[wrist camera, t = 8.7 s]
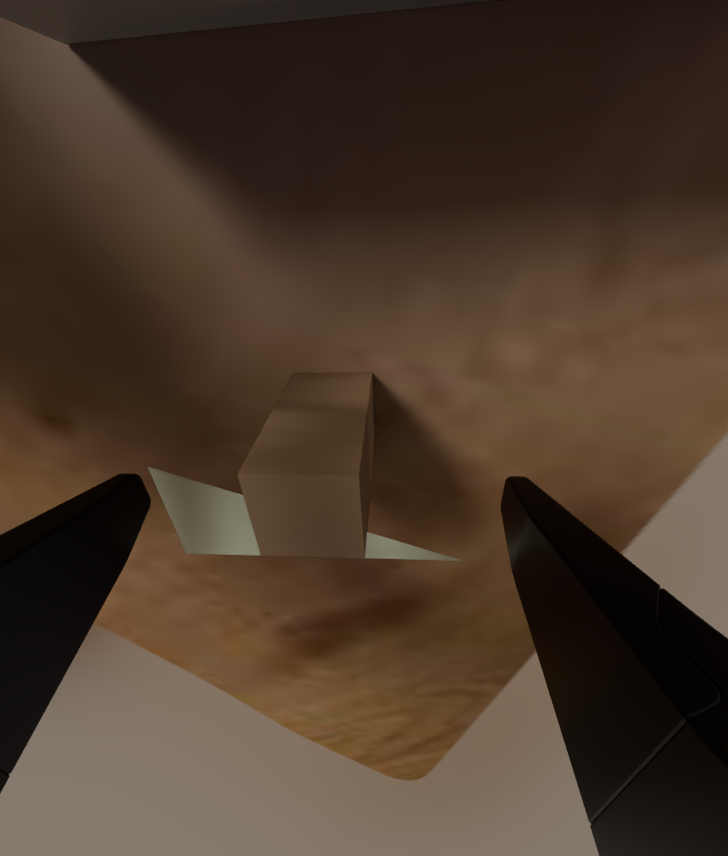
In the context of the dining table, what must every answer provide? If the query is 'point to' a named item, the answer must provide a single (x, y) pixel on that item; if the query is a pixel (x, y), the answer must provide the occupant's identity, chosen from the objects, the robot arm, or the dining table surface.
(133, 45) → the dining table surface
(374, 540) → the lid
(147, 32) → the storage box
